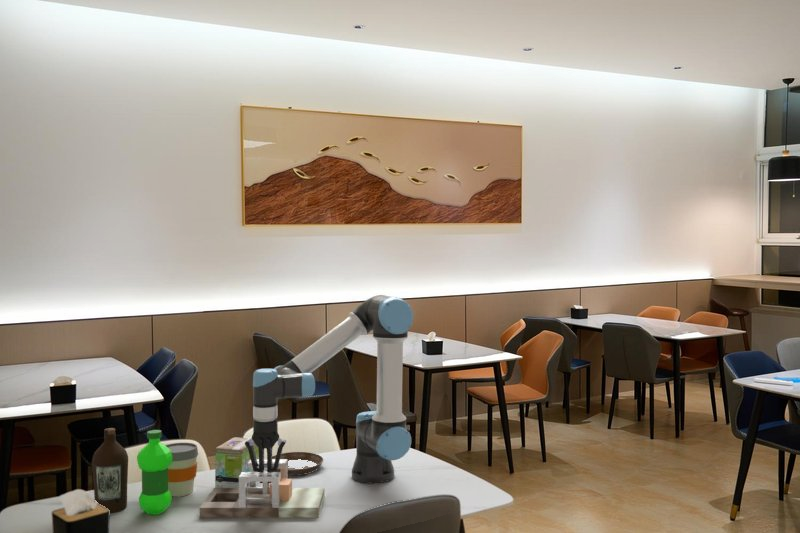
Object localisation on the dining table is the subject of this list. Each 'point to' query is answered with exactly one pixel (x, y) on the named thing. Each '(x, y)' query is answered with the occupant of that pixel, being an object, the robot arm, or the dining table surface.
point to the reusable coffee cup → (182, 468)
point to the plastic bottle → (154, 474)
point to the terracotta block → (284, 489)
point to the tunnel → (262, 477)
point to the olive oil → (110, 473)
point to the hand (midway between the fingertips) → (265, 493)
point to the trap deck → (227, 504)
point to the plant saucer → (302, 456)
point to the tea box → (232, 462)
